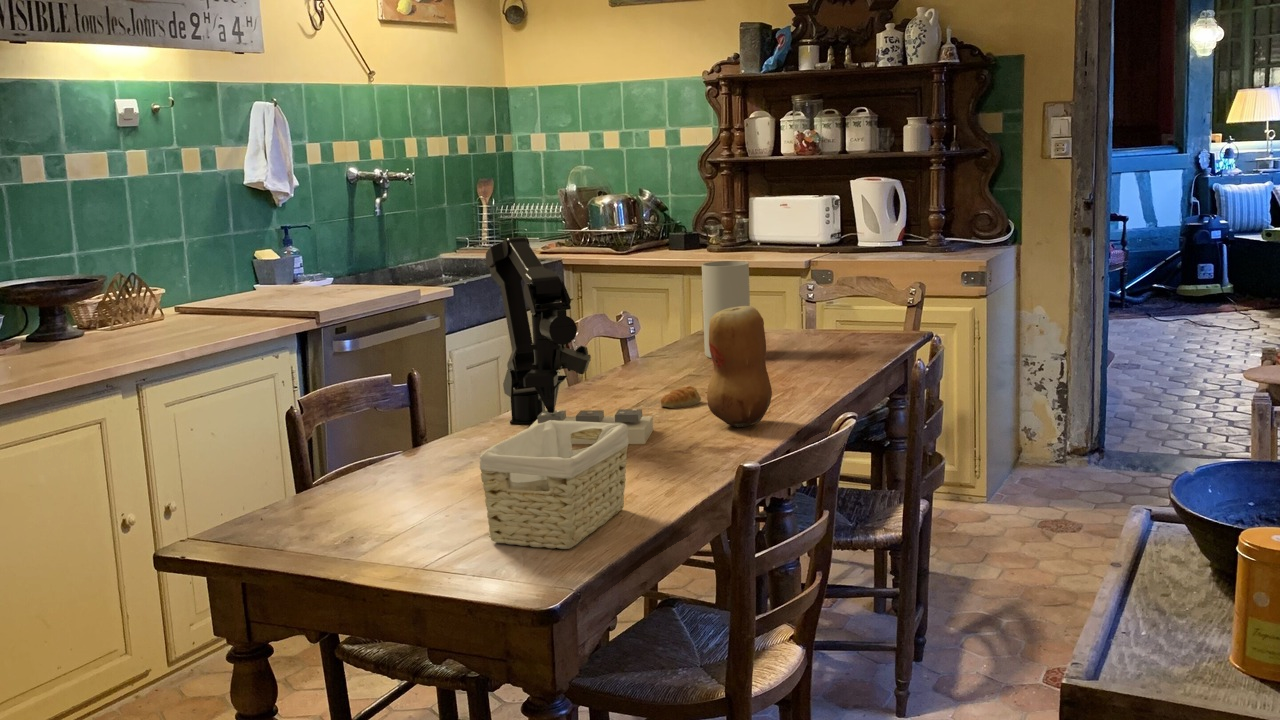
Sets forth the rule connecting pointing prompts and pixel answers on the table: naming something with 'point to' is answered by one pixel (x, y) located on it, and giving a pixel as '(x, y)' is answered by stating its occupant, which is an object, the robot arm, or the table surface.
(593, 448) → the storage basket
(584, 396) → the table surface
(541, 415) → the button three pips
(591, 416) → the button one pip
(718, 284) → the cylinder vase
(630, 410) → the button two pips
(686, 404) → the pastry
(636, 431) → the panel
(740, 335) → the butternut squash
